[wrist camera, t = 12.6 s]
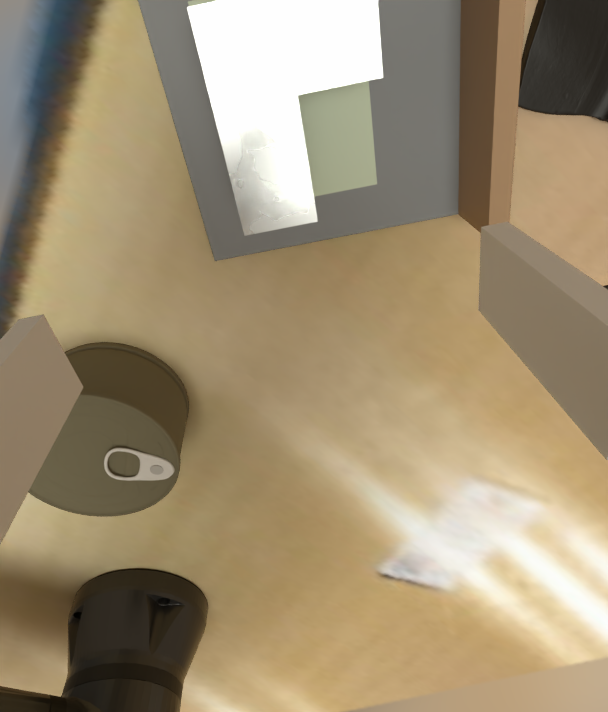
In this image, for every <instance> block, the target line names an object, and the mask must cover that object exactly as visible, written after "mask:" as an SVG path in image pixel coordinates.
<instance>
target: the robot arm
mask: <svg viewBox="0 0 608 712" xmlns="http://www.w3.org/2000/svg"><path fill="white" fill-rule="evenodd" d="M479 311H480V312H481V314H482V315H483V316H484V317H485V318H486V319H487V321H488V322H489V323H490V324H491V325H492V326H493V328H494V329H495V330H496V331H497V332H498V333H499V335H500V336H501V337H502V338H503V339H504V340H505V342H506V343H507V344H508V345H509V346H510V348H511V349H512V350H513V351H514V352H515V353H516V355H517V356H518V357H519V358H520V359H521V360H522V362H523V363H524V364H525V365H526V366H527V367H528V369H529V370H530V371H531V372H532V373H533V374H534V376H535V377H536V378H537V379H538V380H539V381H540V383H541V384H542V385H543V386H544V387H545V389H546V390H547V391H548V392H549V393H550V394H551V396H552V397H553V398H554V399H555V400H556V401H557V403H558V404H559V405H560V406H561V407H562V408H563V410H564V411H565V412H566V413H567V414H568V415H569V417H570V418H571V419H572V420H573V421H574V422H575V424H576V425H577V426H578V427H579V428H580V429H581V431H582V432H583V433H584V434H585V435H586V437H587V438H588V439H589V440H590V441H591V442H592V444H593V445H594V446H595V447H596V448H597V449H598V451H599V452H600V453H601V454H602V455H603V456H604V458H605V459H606V460H608V285H606V286H602V285H600V284H599V283H597V282H596V281H594V280H593V279H591V278H590V277H589V276H587V275H586V274H584V273H583V272H581V271H580V270H578V269H577V268H575V267H574V266H572V265H571V264H569V263H568V262H566V261H565V260H563V259H562V258H560V257H559V256H558V255H556V254H555V253H553V252H552V251H550V250H549V249H547V248H546V247H544V246H543V245H541V244H540V243H538V242H537V241H535V240H534V239H532V238H531V237H529V236H528V235H527V234H525V233H524V232H522V231H521V230H519V229H518V228H516V227H515V226H513V225H512V224H510V223H509V222H503V223H498V224H493V225H488V226H483V227H481V247H480V279H479ZM82 389H83V385H82V383H81V382H80V380H79V378H78V376H77V374H76V373H75V371H74V369H73V367H72V365H71V364H70V362H69V360H68V358H67V356H66V354H65V353H64V351H63V349H62V347H61V345H60V344H59V342H58V340H57V338H56V336H55V335H54V333H53V331H52V329H51V327H50V325H49V324H48V322H47V320H46V318H45V316H44V315H39V316H34V317H29V318H24V319H19V320H18V321H17V322H16V323H15V324H14V325H13V326H12V327H11V329H10V330H9V331H8V332H7V333H6V334H5V335H4V336H3V337H2V338H1V340H0V544H1V542H2V540H3V538H4V536H5V535H6V533H7V531H8V529H9V527H10V525H11V523H12V521H13V519H14V518H15V516H16V514H17V512H18V510H19V508H20V506H21V504H22V502H23V501H24V499H25V497H26V495H27V493H28V491H29V489H30V487H31V485H32V484H33V482H34V480H35V478H36V476H37V474H38V472H39V470H40V468H41V467H42V465H43V463H44V461H45V459H46V457H47V455H48V453H49V451H50V450H51V448H52V446H53V444H54V442H55V440H56V438H57V436H58V434H59V433H60V431H61V429H62V427H63V425H64V423H65V421H66V419H67V417H68V416H69V414H70V412H71V410H72V408H73V406H74V404H75V402H76V400H77V399H78V397H79V395H80V393H81V391H82ZM207 608H208V606H207V601H206V598H205V596H204V595H203V593H202V592H201V591H200V590H199V589H198V588H197V587H196V586H194V585H193V584H191V583H190V582H188V581H186V580H184V579H182V578H180V577H177V576H174V575H171V574H167V573H163V572H158V571H150V570H125V571H117V572H112V573H108V574H105V575H102V576H99V577H97V578H95V579H93V580H91V581H89V582H88V583H86V584H85V585H84V586H83V587H82V588H81V589H80V590H79V591H78V593H77V594H76V597H75V599H74V602H73V605H72V608H71V611H70V614H69V619H68V675H67V679H66V683H65V686H64V689H63V693H62V696H61V697H58V696H52V695H47V694H41V693H36V692H30V691H24V690H18V689H13V688H8V687H3V686H0V712H180V706H181V697H182V689H183V683H184V679H185V677H186V674H187V672H188V669H189V667H190V665H191V662H192V660H193V657H194V655H195V653H196V650H197V648H198V645H199V643H200V641H201V638H202V636H203V633H204V630H205V626H206V618H207Z"/></svg>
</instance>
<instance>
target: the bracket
mask: <svg viewBox="0 0 608 712" xmlns="http://www.w3.org/2000/svg"><path fill="white" fill-rule="evenodd" d="M187 9H188V13H189V17H190V21H191V25H192V29H193V33H194V37H195V41H196V45H197V49H198V53H199V57H200V61H201V65H202V69H203V73H204V77H205V81H206V85H207V89H208V93H209V97H210V101H211V105H212V109H213V113H214V117H215V121H216V125H217V129H218V133H219V137H220V141H221V145H222V149H223V153H224V157H225V161H226V165H227V169H228V173H229V176H230V180H231V184H232V188H233V192H234V196H235V200H236V204H237V208H238V212H239V216H240V220H241V224H242V228H243V232H244V236H246V235H252V234H257V233H262V232H267V231H272V230H277V229H282V228H287V227H292V226H297V225H303V224H308V223H313V222H318V220H317V213H316V207H315V201H314V194H313V188H312V182H311V176H310V169H309V163H308V157H307V150H306V144H305V138H304V132H303V125H302V119H301V113H300V106H299V100H298V95H301V94H306V93H311V92H316V91H320V90H325V89H330V88H335V87H340V86H345V85H350V84H354V83H359V82H364V81H369V80H374V79H379V78H383V69H382V55H381V40H380V25H379V11H378V0H218V1H213V2H209V3H204V4H199V5H195V6H190V7H187Z"/></svg>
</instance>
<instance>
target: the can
mask: <svg viewBox="0 0 608 712" xmlns="http://www.w3.org/2000/svg"><path fill="white" fill-rule="evenodd" d="M65 354H66V356H67V358H68V360H69V362H70V364H71V365H72V367H73V369H74V371H75V373H76V374H77V376H78V378H79V380H80V382H81V383H82V385H83V389H82V391H81V393H80V395H79V397H78V399H77V400H76V402H75V404H74V406H73V408H72V410H71V412H70V414H69V416H68V417H67V419H66V421H65V423H64V425H63V427H62V429H61V431H60V433H59V434H58V436H57V438H56V440H55V442H54V444H53V446H52V448H51V450H50V451H49V453H48V455H47V457H46V459H45V461H44V463H43V465H42V467H41V468H40V470H39V472H38V474H37V476H36V478H35V480H34V482H33V484H32V485H31V487H30V489H29V491H28V492H29V493H30V494H31V495H33V496H35V497H36V498H38V499H39V500H41V501H43V502H45V503H47V504H49V505H51V506H54V507H56V508H59V509H62V510H65V511H68V512H72V513H77V514H82V515H89V516H120V515H126V514H131V513H135V512H138V511H141V510H144V509H146V508H148V507H150V506H152V505H154V504H156V503H157V502H159V501H160V500H162V499H163V498H164V497H165V496H166V495H167V494H168V493H169V492H170V491H171V489H172V488H173V486H174V485H175V483H176V481H177V478H178V475H179V470H180V453H181V447H182V442H183V437H184V431H185V426H186V421H187V417H188V411H189V401H188V396H187V392H186V389H185V387H184V385H183V383H182V381H181V380H180V378H179V377H178V375H177V374H176V373H175V372H174V371H173V370H172V369H171V368H170V367H169V366H168V365H167V364H166V363H164V362H163V361H162V360H160V359H159V358H157V357H156V356H154V355H152V354H150V353H148V352H146V351H144V350H141V349H139V348H136V347H133V346H129V345H125V344H119V343H109V342H100V343H90V344H85V345H81V346H78V347H75V348H73V349H70V350H69V351H67V352H65Z"/></svg>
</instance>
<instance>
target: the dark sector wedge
mask: <svg viewBox="0 0 608 712" xmlns="http://www.w3.org/2000/svg"><path fill="white" fill-rule="evenodd" d="M518 106H519V107H522V108H524V109H528V110H531V111H535V112H540V113H545V114H555V115H586V116H591V117H596V118H597V119H599V120H601V121H607V122H608V0H538V3H537V6H536V9H535V13H534V16H533V19H532V22H531V26H530V29H529V33H528V36H527V40H526V44H525V48H524V52H523V56H522V61H521V72H520V86H519V99H518Z"/></svg>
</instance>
